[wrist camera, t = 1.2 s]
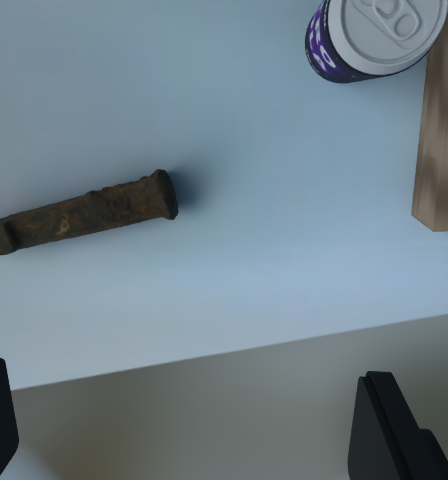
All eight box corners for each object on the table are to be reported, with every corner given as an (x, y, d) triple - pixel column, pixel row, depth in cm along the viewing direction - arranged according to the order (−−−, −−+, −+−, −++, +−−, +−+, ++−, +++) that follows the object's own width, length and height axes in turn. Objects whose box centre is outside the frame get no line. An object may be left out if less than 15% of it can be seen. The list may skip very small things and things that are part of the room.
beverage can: (349, -22, 30) (406, -96, 18) (400, 42, 31) (484, 8, 19) (287, 41, 31) (304, 8, 20) (337, 100, 32) (382, 101, 21)
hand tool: (171, 164, 35) (159, 173, 31) (183, 211, 36) (172, 226, 32) (-36, 207, 38) (-75, 221, 33) (-19, 250, 39) (-55, 269, 34)
